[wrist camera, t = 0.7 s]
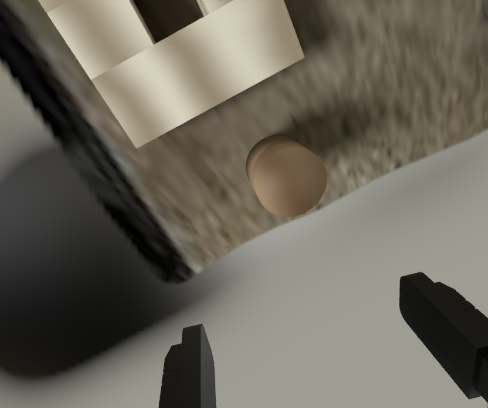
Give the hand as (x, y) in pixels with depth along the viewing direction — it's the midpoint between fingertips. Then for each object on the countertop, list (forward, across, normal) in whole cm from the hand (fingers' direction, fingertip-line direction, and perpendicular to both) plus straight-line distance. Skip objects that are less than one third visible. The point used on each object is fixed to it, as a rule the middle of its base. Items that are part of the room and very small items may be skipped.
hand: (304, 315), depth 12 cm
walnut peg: (+22, -3, -1) cm, 22 cm away
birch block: (+22, +3, -15) cm, 26 cm away
